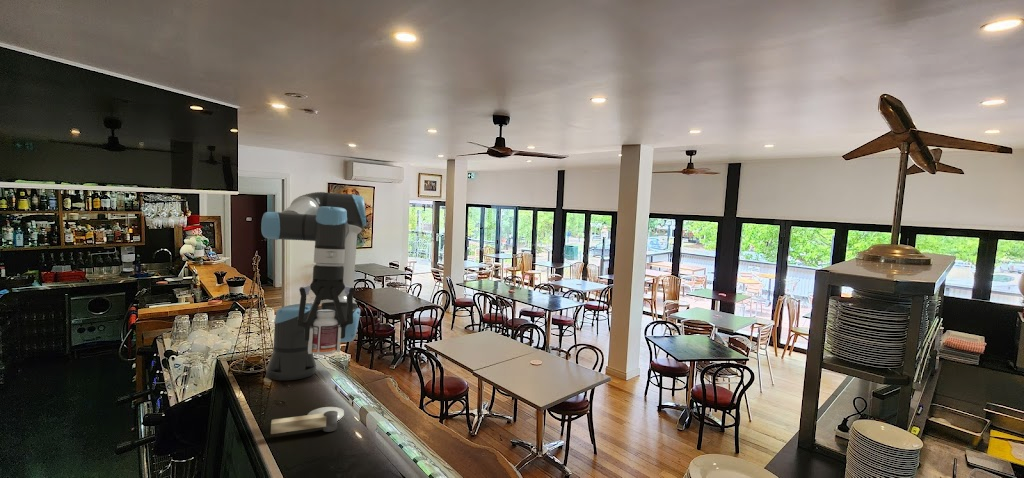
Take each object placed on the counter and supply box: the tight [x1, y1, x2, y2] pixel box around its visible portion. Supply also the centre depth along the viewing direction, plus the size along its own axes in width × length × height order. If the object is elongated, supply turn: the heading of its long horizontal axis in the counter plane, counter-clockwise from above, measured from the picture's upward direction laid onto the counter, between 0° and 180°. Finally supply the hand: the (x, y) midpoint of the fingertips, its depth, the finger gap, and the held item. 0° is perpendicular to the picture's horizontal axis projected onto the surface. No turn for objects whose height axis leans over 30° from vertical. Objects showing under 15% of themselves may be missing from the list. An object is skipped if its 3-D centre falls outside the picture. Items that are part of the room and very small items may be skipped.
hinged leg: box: [270, 411, 338, 435], centre depth 105 cm, size 15×3×4 cm, turn 117°
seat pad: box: [307, 406, 345, 422], centre depth 115 cm, size 9×9×1 cm
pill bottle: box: [312, 310, 338, 356], centre depth 115 cm, size 6×6×11 cm
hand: (323, 351), depth 114 cm, fingers closed on pill bottle, 6 cm apart
